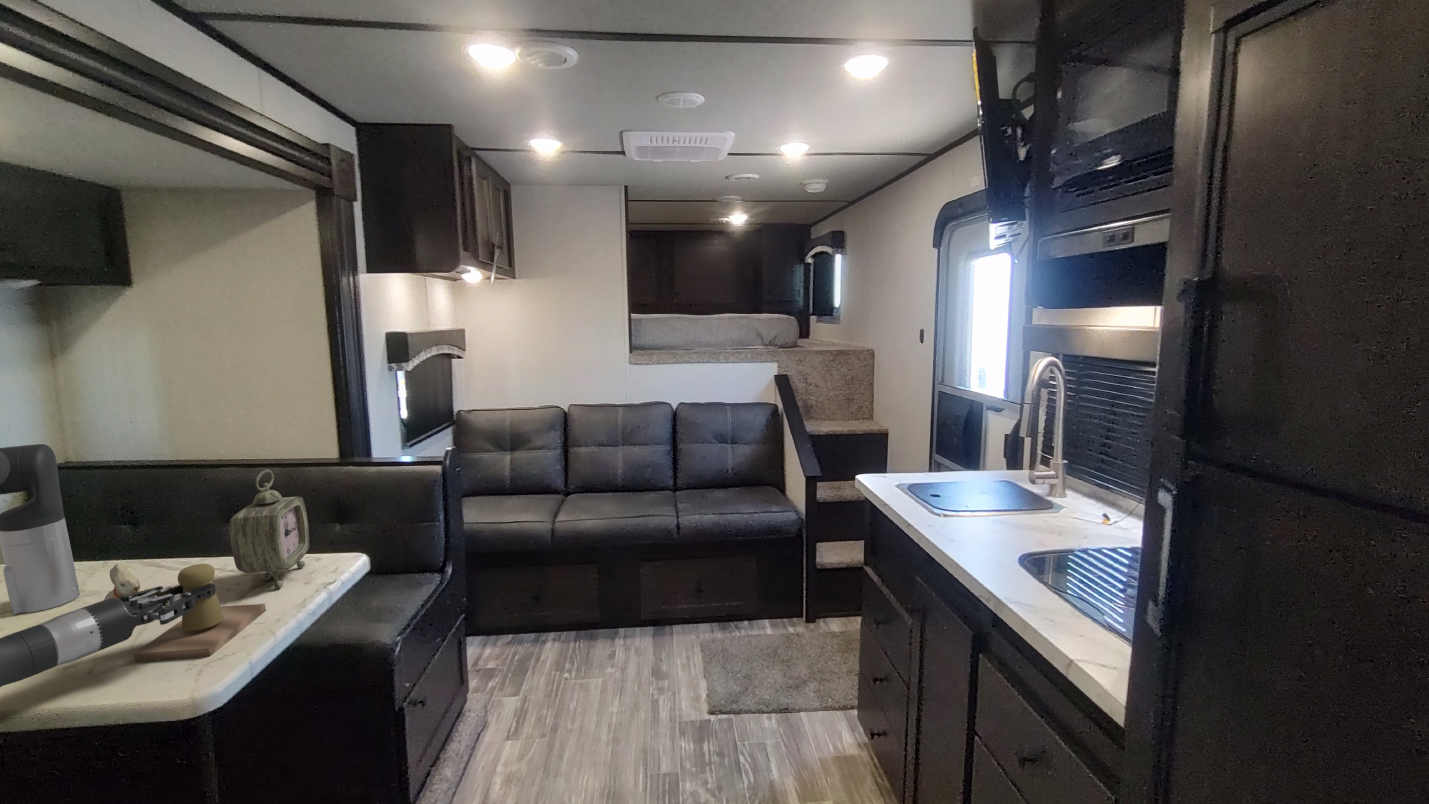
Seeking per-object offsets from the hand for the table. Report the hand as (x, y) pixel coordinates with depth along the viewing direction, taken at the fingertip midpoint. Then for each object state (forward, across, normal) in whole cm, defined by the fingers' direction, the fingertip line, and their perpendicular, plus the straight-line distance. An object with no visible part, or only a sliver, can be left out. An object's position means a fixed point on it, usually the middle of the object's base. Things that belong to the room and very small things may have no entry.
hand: (205, 586), depth 114 cm
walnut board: (-1, 0, +9) cm, 9 cm away
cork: (-1, 0, +7) cm, 7 cm away
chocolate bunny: (-1, +27, +9) cm, 28 cm away
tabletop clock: (+19, +11, +9) cm, 24 cm away
